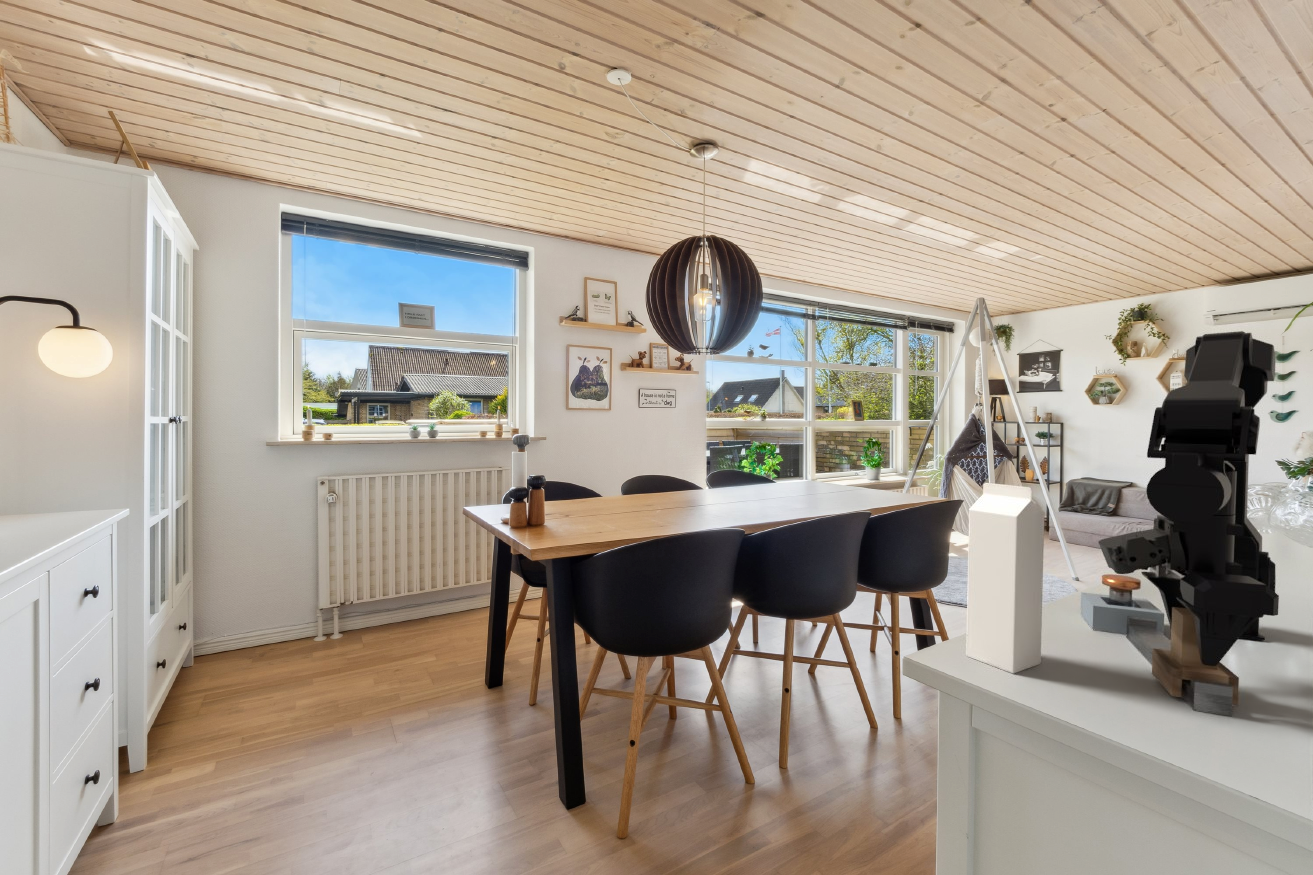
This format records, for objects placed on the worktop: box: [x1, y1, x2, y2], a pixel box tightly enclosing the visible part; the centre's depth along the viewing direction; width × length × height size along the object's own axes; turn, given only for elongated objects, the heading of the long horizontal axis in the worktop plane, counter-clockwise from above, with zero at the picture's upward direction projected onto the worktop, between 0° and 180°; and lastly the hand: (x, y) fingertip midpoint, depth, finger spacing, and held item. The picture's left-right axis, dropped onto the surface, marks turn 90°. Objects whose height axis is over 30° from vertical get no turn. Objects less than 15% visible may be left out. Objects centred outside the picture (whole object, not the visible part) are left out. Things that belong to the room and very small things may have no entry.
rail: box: [1125, 616, 1233, 717], centre depth 70 cm, size 3×22×3 cm, turn 156°
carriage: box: [1151, 607, 1240, 707], centre depth 64 cm, size 5×6×8 cm
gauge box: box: [1080, 591, 1165, 636], centre depth 85 cm, size 8×7×4 cm
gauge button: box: [1101, 573, 1142, 607], centre depth 85 cm, size 4×4×4 cm
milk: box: [965, 482, 1045, 675], centre depth 73 cm, size 6×6×22 cm
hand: (1193, 652), depth 65 cm, fingers open, 7 cm apart
